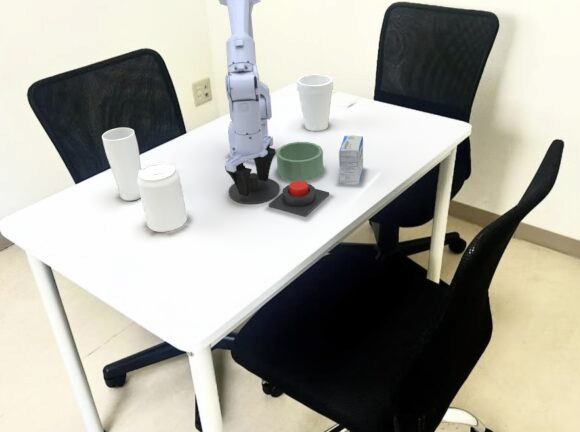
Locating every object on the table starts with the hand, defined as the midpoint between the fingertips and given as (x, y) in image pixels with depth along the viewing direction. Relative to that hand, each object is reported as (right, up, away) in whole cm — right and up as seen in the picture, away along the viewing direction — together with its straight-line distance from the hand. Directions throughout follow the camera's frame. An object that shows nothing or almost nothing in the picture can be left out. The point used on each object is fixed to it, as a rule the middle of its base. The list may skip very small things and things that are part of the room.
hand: (253, 187), depth 122 cm
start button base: (+10, -4, -3) cm, 11 cm away
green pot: (+10, +4, +8) cm, 14 cm away
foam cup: (+14, +18, +31) cm, 39 cm away
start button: (+10, -1, -5) cm, 11 cm away
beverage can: (-17, -8, -8) cm, 20 cm away
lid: (0, -1, +1) cm, 1 cm away
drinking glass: (-27, -2, +3) cm, 27 cm away
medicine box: (+22, +2, +5) cm, 22 cm away
